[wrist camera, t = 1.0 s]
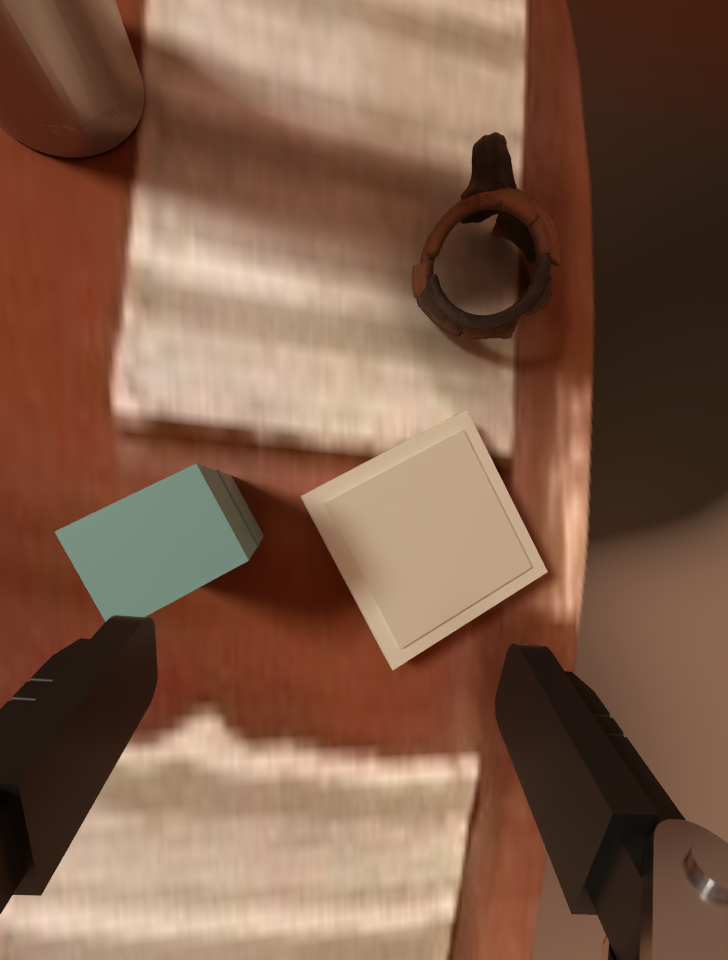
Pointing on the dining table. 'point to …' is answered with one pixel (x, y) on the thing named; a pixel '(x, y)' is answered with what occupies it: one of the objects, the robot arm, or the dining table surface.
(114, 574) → the teal rectangular box
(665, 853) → the robot arm
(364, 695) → the dining table surface
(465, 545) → the display plinth
